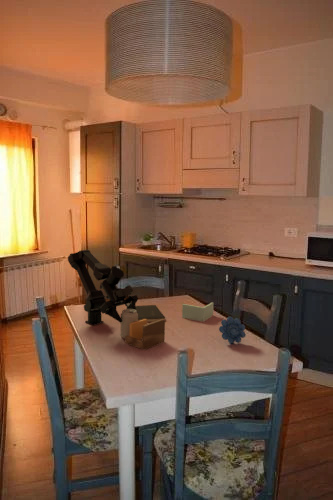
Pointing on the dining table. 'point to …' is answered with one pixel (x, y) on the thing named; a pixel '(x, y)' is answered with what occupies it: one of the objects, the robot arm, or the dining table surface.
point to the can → (127, 321)
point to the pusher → (137, 329)
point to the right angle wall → (197, 312)
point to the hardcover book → (149, 313)
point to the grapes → (232, 330)
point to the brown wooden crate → (149, 335)
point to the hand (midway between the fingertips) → (129, 319)
